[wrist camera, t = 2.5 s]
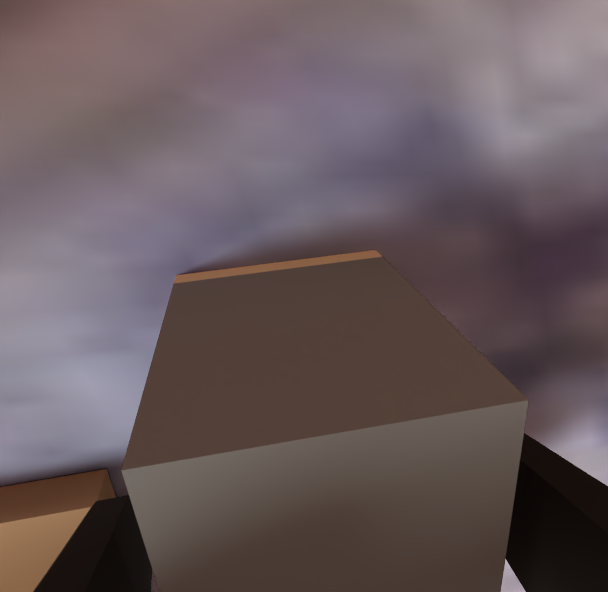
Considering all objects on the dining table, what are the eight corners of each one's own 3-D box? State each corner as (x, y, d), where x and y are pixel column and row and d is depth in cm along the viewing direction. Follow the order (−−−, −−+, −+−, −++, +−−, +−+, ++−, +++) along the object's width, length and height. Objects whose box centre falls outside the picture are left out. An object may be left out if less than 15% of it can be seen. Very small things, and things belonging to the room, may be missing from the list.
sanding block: (176, 273, 10) (121, 470, 5) (374, 248, 11) (528, 400, 5) (228, 526, 13) (230, 815, 8) (378, 497, 14) (477, 750, 9)
